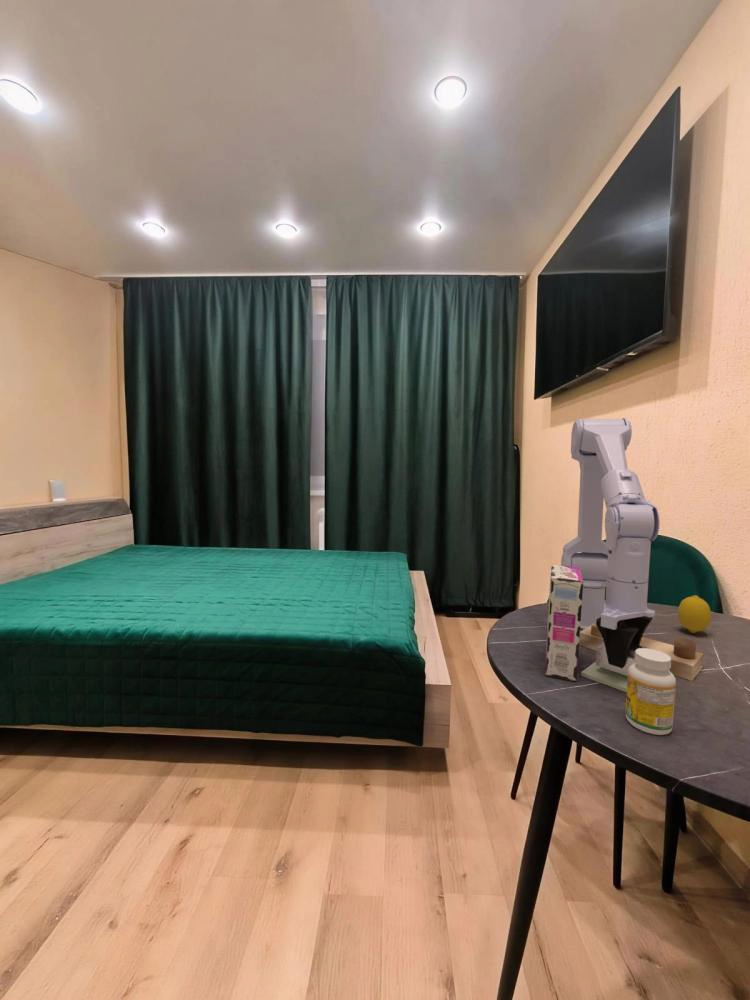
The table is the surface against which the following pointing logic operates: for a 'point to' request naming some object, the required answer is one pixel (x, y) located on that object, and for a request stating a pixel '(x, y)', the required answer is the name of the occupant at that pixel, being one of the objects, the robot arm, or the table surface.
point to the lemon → (694, 614)
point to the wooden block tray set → (681, 653)
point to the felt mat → (606, 677)
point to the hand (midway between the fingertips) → (621, 660)
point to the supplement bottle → (651, 692)
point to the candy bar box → (564, 622)
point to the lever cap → (603, 662)
